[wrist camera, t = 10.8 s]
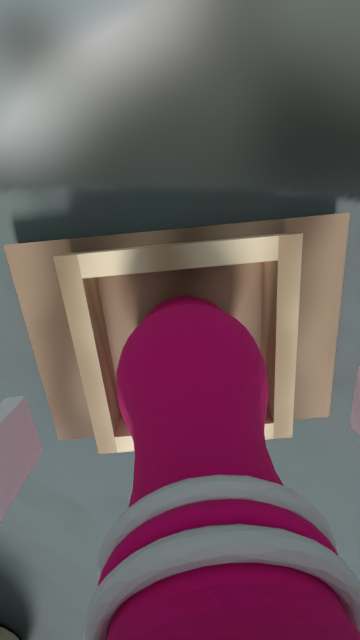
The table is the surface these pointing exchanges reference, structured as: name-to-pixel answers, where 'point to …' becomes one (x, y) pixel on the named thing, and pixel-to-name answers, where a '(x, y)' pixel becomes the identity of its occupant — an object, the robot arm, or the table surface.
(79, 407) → the holder board
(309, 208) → the table surface
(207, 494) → the pepper mill
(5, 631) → the planter bowl
